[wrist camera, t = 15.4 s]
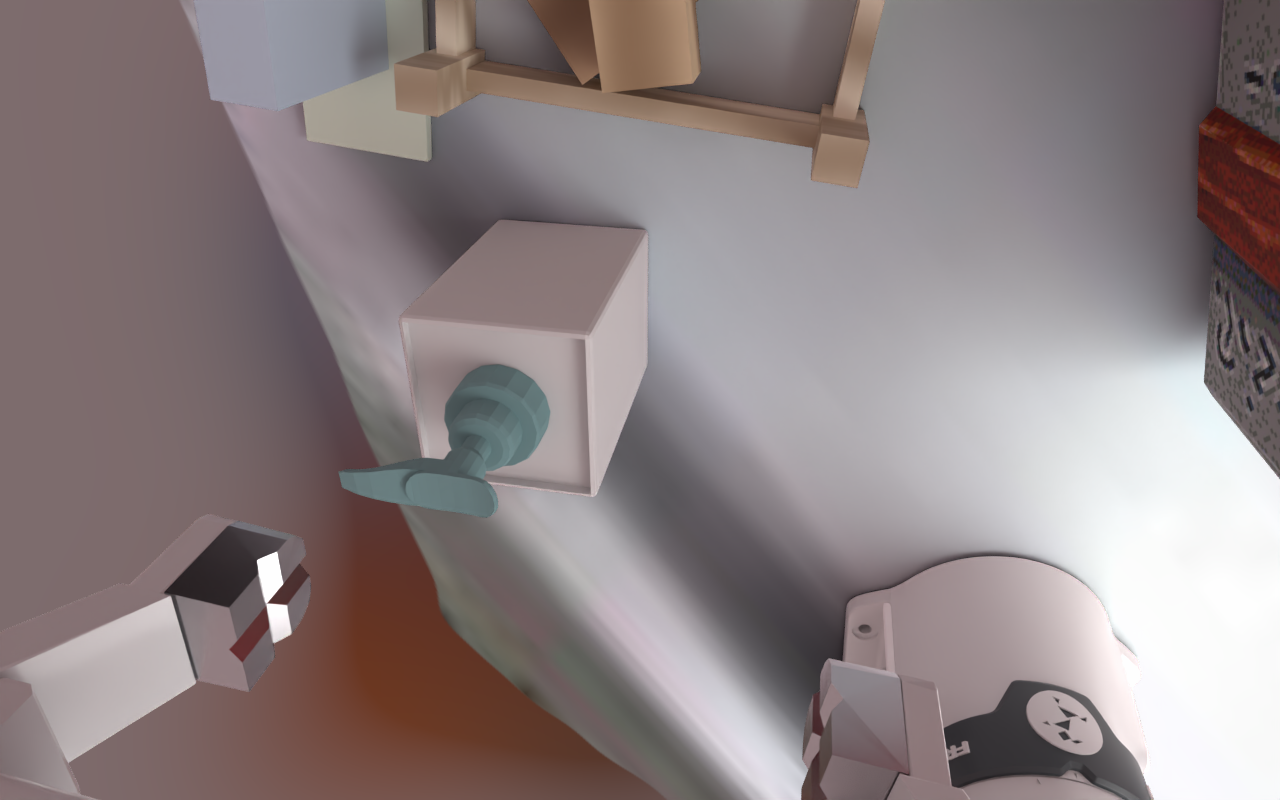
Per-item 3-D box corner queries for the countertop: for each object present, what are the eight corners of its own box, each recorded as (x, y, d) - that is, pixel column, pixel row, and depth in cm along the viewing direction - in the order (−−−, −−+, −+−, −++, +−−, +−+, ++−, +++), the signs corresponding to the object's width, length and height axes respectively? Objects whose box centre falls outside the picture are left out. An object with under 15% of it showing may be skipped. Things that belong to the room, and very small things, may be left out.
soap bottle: (495, 217, 45) (314, 389, 29) (649, 228, 44) (546, 415, 28) (508, 352, 50) (357, 565, 34) (648, 366, 48) (559, 595, 32)
